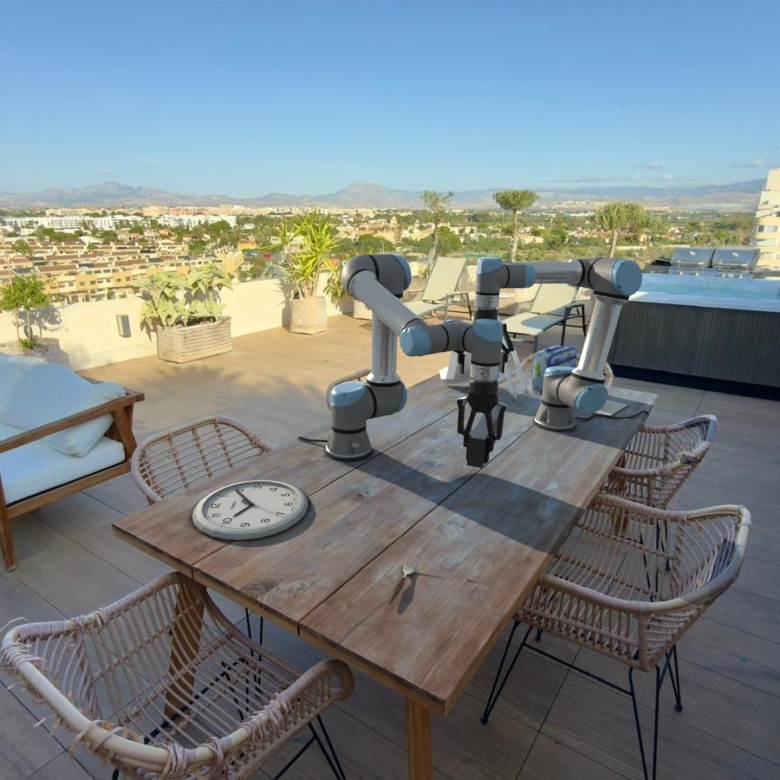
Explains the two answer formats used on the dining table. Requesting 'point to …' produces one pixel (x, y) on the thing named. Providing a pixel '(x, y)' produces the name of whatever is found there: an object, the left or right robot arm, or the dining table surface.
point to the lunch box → (551, 363)
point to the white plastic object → (455, 377)
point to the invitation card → (611, 408)
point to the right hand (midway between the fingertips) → (481, 372)
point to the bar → (480, 440)
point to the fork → (407, 571)
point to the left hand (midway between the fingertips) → (477, 459)
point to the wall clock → (250, 510)
